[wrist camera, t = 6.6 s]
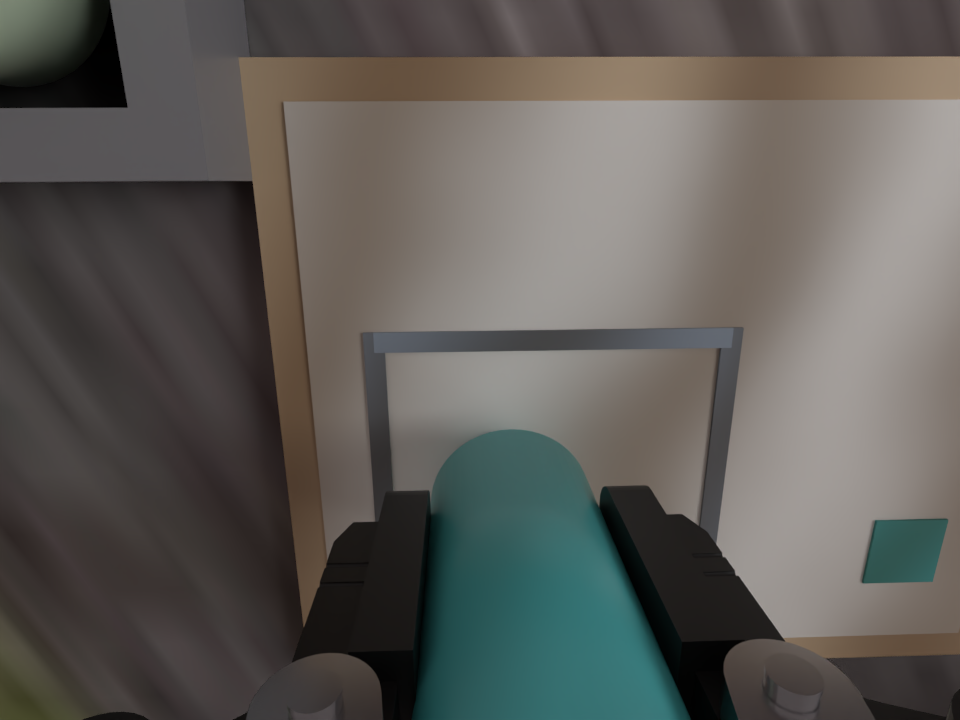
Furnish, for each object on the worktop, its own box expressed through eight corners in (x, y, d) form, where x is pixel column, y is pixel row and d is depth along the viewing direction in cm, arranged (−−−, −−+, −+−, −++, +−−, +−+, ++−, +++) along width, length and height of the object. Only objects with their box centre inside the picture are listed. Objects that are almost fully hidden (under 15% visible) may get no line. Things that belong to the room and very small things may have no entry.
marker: (584, 404, 12) (889, 941, 3) (578, 540, 13) (805, 1225, 4) (428, 408, 12) (352, 967, 3) (433, 544, 12) (382, 1251, 4)
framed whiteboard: (1117, 63, 11) (1162, 54, 10) (957, 635, 15) (982, 658, 14) (250, 64, 10) (236, 55, 10) (314, 653, 14) (307, 678, 14)
